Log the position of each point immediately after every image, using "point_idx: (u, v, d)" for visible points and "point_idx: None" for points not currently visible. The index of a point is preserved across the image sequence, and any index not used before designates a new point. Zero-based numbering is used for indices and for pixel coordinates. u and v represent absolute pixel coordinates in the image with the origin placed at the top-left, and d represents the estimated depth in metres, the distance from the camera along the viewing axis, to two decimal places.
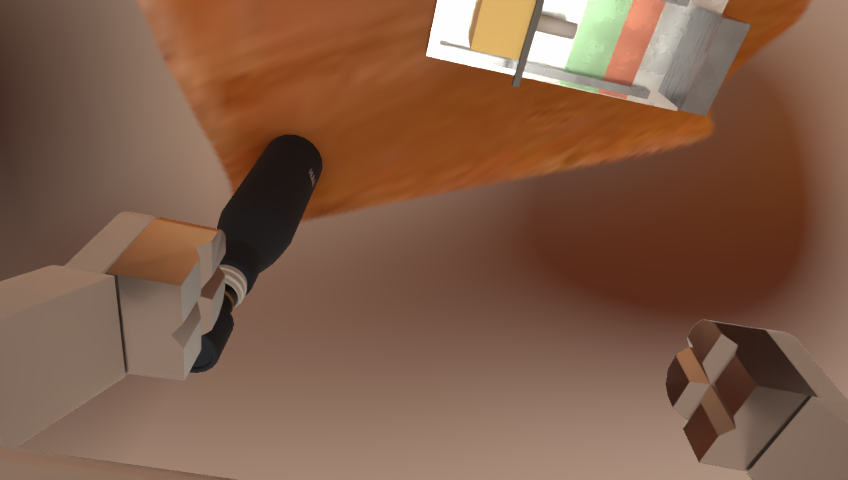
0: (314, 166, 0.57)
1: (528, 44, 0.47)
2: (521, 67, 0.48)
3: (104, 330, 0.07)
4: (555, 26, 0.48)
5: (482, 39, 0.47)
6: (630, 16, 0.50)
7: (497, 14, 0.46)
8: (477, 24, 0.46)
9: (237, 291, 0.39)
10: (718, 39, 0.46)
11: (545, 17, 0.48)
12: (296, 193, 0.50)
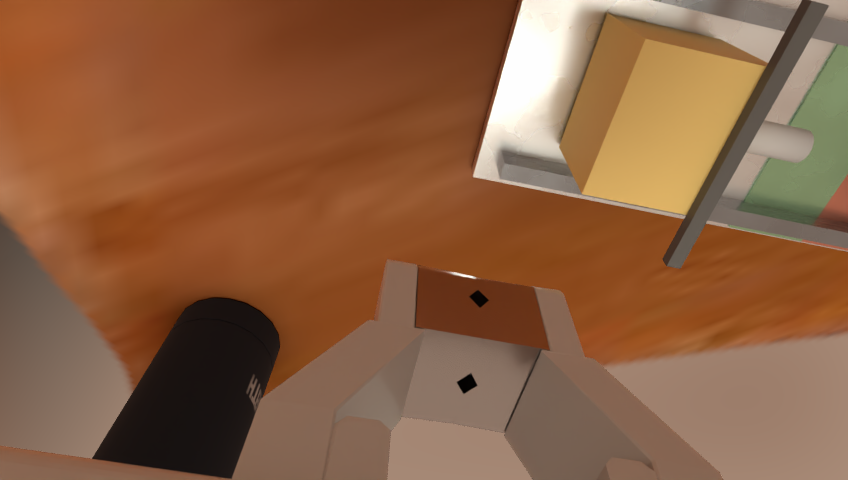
0: (261, 364, 0.31)
1: (718, 188, 0.21)
2: (694, 231, 0.22)
3: (406, 380, 0.07)
4: (765, 140, 0.22)
5: (612, 174, 0.21)
6: None
7: (653, 124, 0.20)
8: (603, 144, 0.20)
9: None
10: None
11: None
12: (209, 474, 0.24)
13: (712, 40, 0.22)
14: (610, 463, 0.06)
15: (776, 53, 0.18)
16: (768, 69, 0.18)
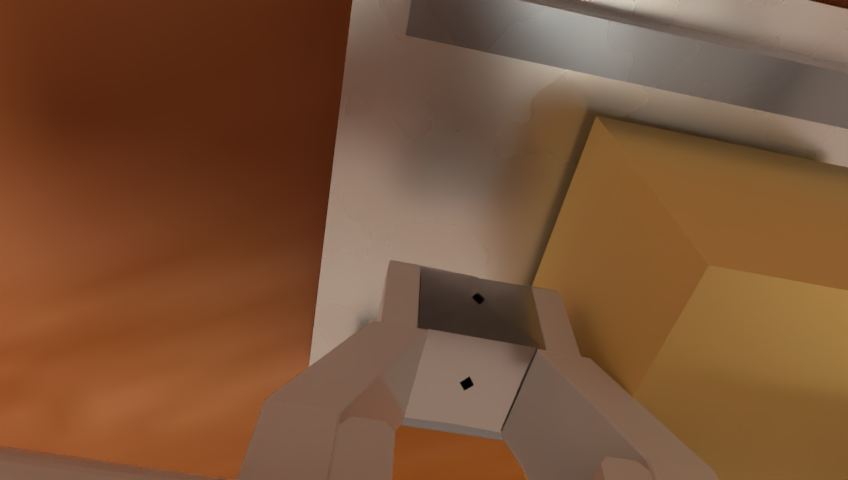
0: None
1: None
2: None
3: (409, 380, 0.07)
4: None
5: None
6: None
7: (719, 448, 0.07)
8: None
9: None
10: None
11: None
12: None
13: (842, 183, 0.09)
14: (605, 462, 0.06)
15: None
16: None
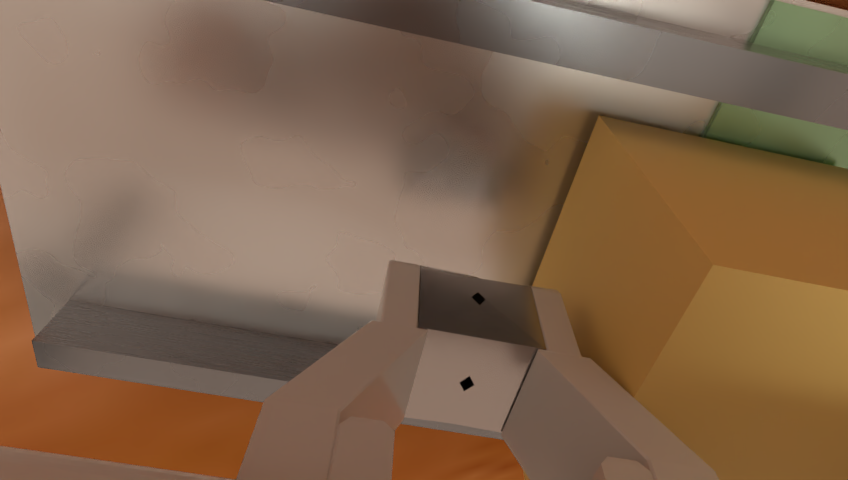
0: None
1: None
2: None
3: (409, 380, 0.07)
4: None
5: None
6: None
7: (720, 447, 0.07)
8: None
9: None
10: None
11: None
12: None
13: (843, 185, 0.09)
14: (605, 462, 0.06)
15: None
16: None
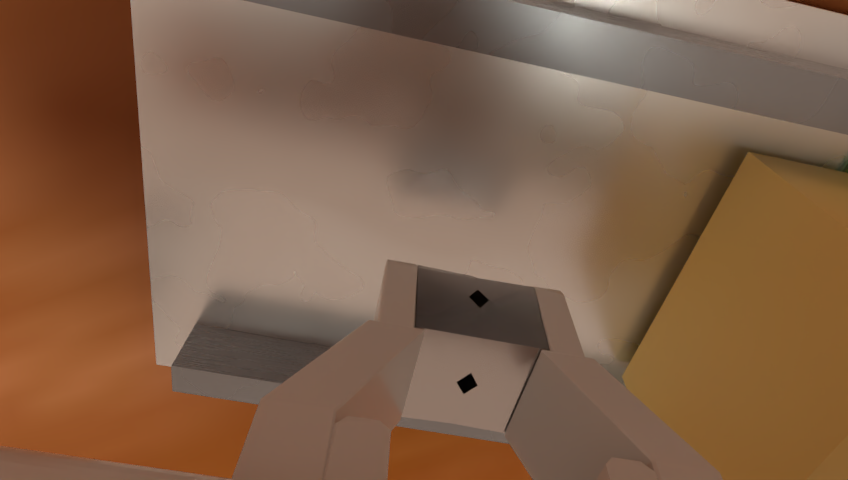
0: None
1: None
2: None
3: (406, 380, 0.07)
4: None
5: None
6: None
7: None
8: None
9: None
10: None
11: None
12: None
13: None
14: (610, 463, 0.06)
15: None
16: None
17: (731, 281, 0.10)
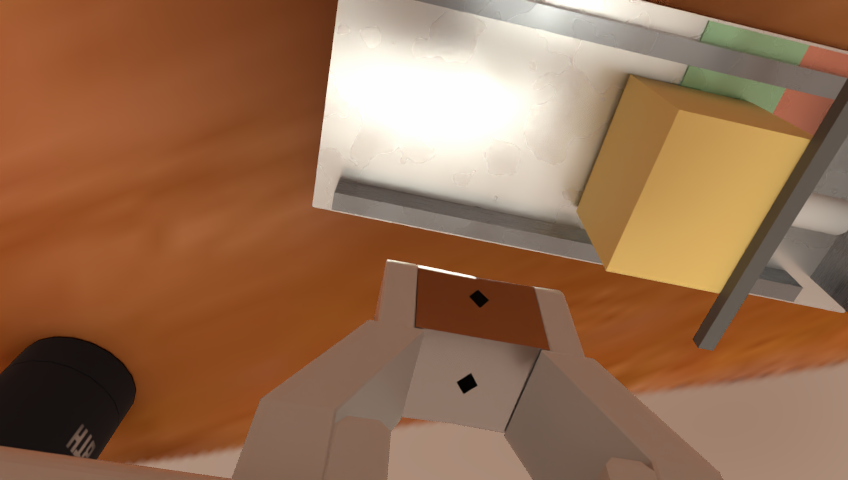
0: (97, 412, 0.28)
1: (756, 267, 0.19)
2: (729, 312, 0.20)
3: (406, 380, 0.07)
4: (804, 212, 0.20)
5: (639, 250, 0.19)
6: None
7: (686, 198, 0.18)
8: (631, 219, 0.18)
9: None
10: None
11: None
12: None
13: (744, 105, 0.20)
14: (610, 463, 0.06)
15: (822, 126, 0.17)
16: (813, 142, 0.17)
17: (621, 135, 0.20)
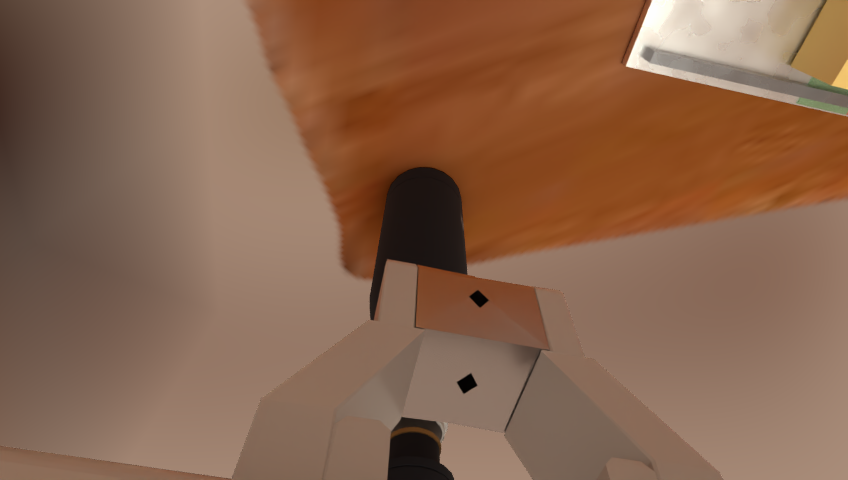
0: (461, 209, 0.44)
1: None
2: None
3: (406, 379, 0.07)
4: None
5: None
6: None
7: None
8: None
9: (443, 428, 0.26)
10: None
11: None
12: (462, 254, 0.37)
13: None
14: (610, 463, 0.06)
15: None
16: None
17: (836, 11, 0.36)
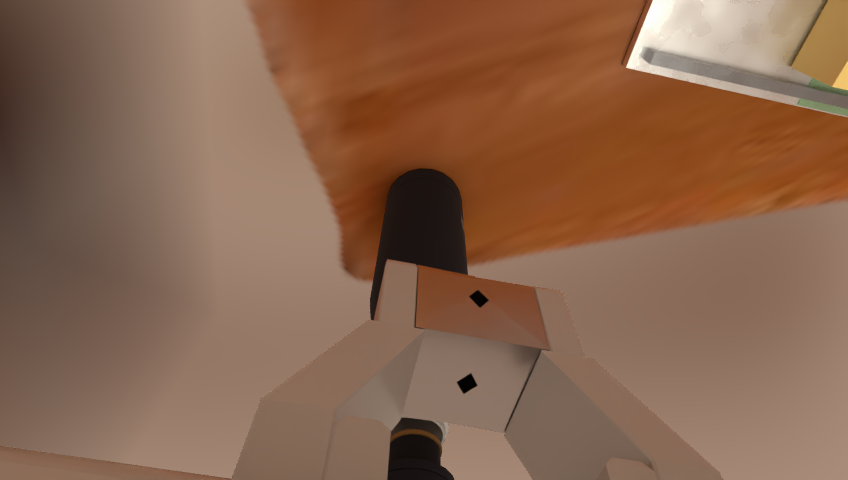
0: (461, 211, 0.44)
1: None
2: None
3: (406, 380, 0.07)
4: None
5: None
6: None
7: None
8: None
9: (444, 430, 0.26)
10: None
11: None
12: (463, 256, 0.37)
13: None
14: (610, 463, 0.06)
15: None
16: None
17: (836, 12, 0.36)
